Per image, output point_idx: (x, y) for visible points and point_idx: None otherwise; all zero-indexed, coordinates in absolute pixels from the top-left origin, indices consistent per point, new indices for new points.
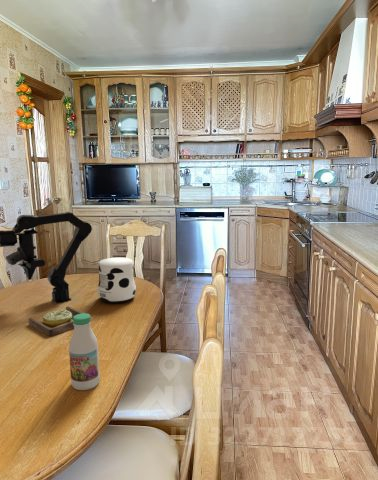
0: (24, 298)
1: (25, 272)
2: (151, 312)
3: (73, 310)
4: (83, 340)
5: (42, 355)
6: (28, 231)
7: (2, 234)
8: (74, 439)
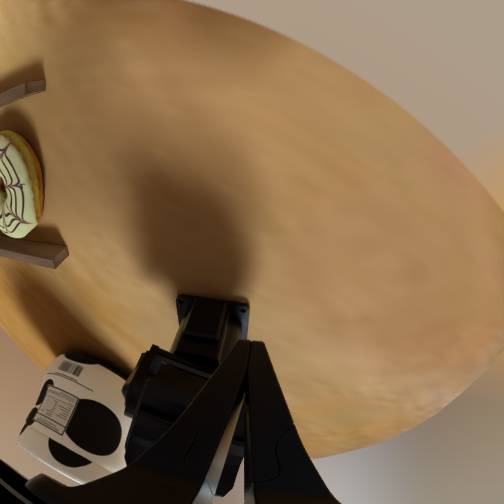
0: (412, 254)
1: (275, 422)
2: (9, 335)
3: (19, 252)
4: None
5: None
6: None
7: None
8: None
